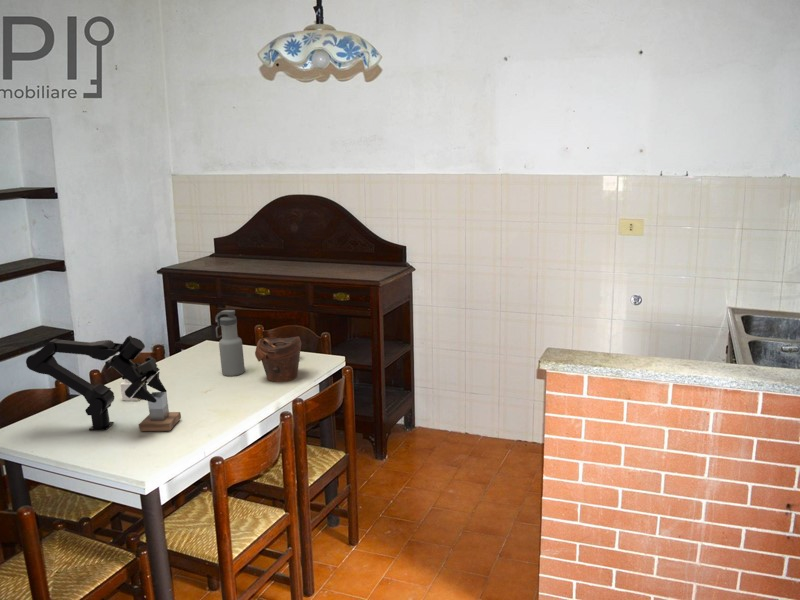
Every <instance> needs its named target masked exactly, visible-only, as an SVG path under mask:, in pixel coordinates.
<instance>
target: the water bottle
mask: <svg viewBox="0 0 800 600" xmlns="http://www.w3.org/2000/svg"><path fill="white" fill-rule="evenodd" d="M235 314H236V310H235V309H224V310H221V311H219V312H217V314H216V315H215V317H214V319H215V323H217V326H215V337H216V339H220V338H221V339H220V340H219V342H218V347H219V357H220V366H221V374H222V375H223V376H226V377H235V376H236V377H237V376H239V375H242V374H243V373H245V359H244V357H245V356H244V349H243V340H242V338H241V337H239V335H238V326H237V324H238V320H237V316H236V315H235ZM219 328H221V335H219V333H218V329H219Z"/></svg>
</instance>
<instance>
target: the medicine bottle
mask: <svg viewBox="0 0 800 600" xmlns="http://www.w3.org/2000/svg"><path fill="white" fill-rule="evenodd" d="M131 384H132V383H131V382H129V381H128V380H127V379H126V378H125V379H124V380H123V382H121V383H120V384H119V385H120V391H121V398H122V399H121V400H122V401H129V402H131V401H132V402H139V401H140V400H141V399H137V398H132V397H133V396H134V394H133V396H132V397H130V398H128V397H127V396H126V395H125V391H126V389H127V388H128V387H129V386H130V385H131ZM144 384H145V385H146V389H147V390H148V387H147V386H148V385H147V383H143V384H142V385H144Z"/></svg>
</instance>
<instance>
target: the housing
mask: <svg viewBox="0 0 800 600" xmlns="http://www.w3.org/2000/svg"><path fill="white" fill-rule="evenodd" d="M150 393H151V395H152V396H153V397H154V398H155V399H156V400H157V401H156V402H155V403H153V402H150V401H147V405H148V412H149V413H148V415H149V414H150V421H164V420H165V419H166V418H167V417H168V416H169V412H170V411H169V402H168V394H167V392H160V391H156V392H155V391H152V392H150Z"/></svg>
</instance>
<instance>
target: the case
mask: <svg viewBox="0 0 800 600" xmlns="http://www.w3.org/2000/svg"><path fill="white" fill-rule="evenodd" d="M255 347H256V348H255V351H254V354H255V357H256V359H257V361H258V362H262V366H263V370H264V372H265V376H266V379H267V380H268V381H270V382H276V383H277V382H280V383H281V382H289V381H292V380H294V379H296V378H297V377H298V373H299V364H300V359H301V358H300V356H301V350H302V341H301V338H300V336H291V337H285V338H282V337H264V338H260V339H259V340H258V341H257V343H256V346H255Z"/></svg>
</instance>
